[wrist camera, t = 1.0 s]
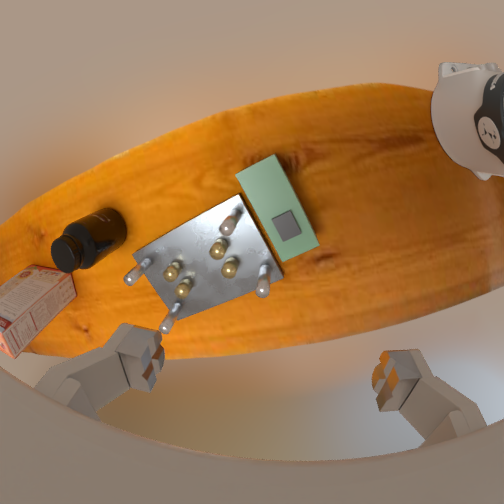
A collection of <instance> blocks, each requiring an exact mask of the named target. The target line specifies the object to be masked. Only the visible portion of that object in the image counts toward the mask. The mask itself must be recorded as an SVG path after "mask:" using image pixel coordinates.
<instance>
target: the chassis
mask: <svg viewBox="0 0 504 504" xmlns="http://www.w3.org/2000/svg"><path fill="white" fill-rule="evenodd" d="M132 255H133V257H134V258H135V260H136V262H137V263H138V264H137V265H136V266H135V267H134V268H133V269H132V270H131V271H130V272H129V273H128V274H126V275H125V276H124V282H125V283H126V284H127V285H129V286H132V285H133V284H134V283H135V282H136V281H137V280H138V279H139V278H140V277H141V276H142V275H143V274H145V275H146V277H147V278H148V280H149V281H150V283H151V284H152V286H153V287H154V289H155V290H156V292H157V293H158V295H159V296H160V297H161V299H162V300H163V302H164V303H165V304H166V306H167V307H168V309H169V312H168V314H167V315H166V317H165V318H164V320H163V322H162V323H161V325H160V326H159V330H160V332H162V333H163V334H168V333H169V332H170V330H171V328H172V326H173V324H174V323H175V321H176V320H180V319H183V318H185V317H188V316H191V315H193V314H196V313H199V312H201V311H204V310H206V309H209V308H211V307H214V306H217V305H219V304H222V303H224V302H227V301H229V300H232V299H234V298H237V297H239V296H242V295H244V294H247V293H249V292H251V291H254V290H256V295H257V296H258V297H260V298H265V297H267V296H268V295H269V290H270V284H271V283H273V282H276V281H278V280H280V279H283V278H284V274H283V272H282V270H281V268H280V266H279V265H278V263H277V261H276V259H275V257H274V255H273V253H272V251H271V250H270V248H269V246H268V244H267V242H266V240H265V238H264V237H263V235H262V233H261V231H260V229H259V227H258V225H257V224H256V222H255V220H254V218H253V216H252V214H251V213H250V211H249V209H248V207H247V205H246V203H245V202H244V200H243V198H242V196H241V194H240V193H239V194H237V195H235V196H233V197H231V198H229V199H227V200H226V201H224V202H222V203H220V204H218V205H216V206H214V207H213V208H211V209H209V210H207V211H205V212H203V213H202V214H200V215H198V216H196V217H194V218H193V219H191V220H189V221H187V222H185V223H184V224H182V225H180V226H178V227H177V228H175V229H173V230H171V231H170V232H168V233H166V234H164V235H163V236H161V237H159V238H158V239H156V240H154V241H153V242H151V243H149V244H148V245H146V246H144V247H143V248H141V249H139V250H138V251H136V252H135V253H133V254H132Z"/></svg>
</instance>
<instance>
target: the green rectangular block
mask: <svg viewBox="0 0 504 504" xmlns="http://www.w3.org/2000/svg"><path fill="white" fill-rule="evenodd" d="M235 175H236V177H237V179H238V181H239V182H240V184H241V186H242V188H243V190H244V192H245V193H246V195H247V197H248V199H249V201H250V202H251V204H252V206H253V208H254V210H255V212H256V213H257V215H258V217H259V219H260V221H261V223H262V225H263V226H264V228H265V230H266V232H267V234H268V236H269V238H270V239H271V241H272V243H273V245H274V247H275V249H276V251H277V253H278V254H279V256H280V258H281V260H282V262H283V261H286V260H288V259H290V258H293V257H295V256H297V255H299V254H302V253H304V252H306V251H308V250H310V249H313V248H315V247H317V246H319V242H318V239H317V236H316V234H315V231H314V229H313V227H312V225H311V223H310V221H309V219H308V217H307V215H306V213H305V210H304V208H303V206H302V204H301V202H300V200H299V198H298V196H297V194H296V192H295V190H294V188H293V186H292V184H291V182H290V180H289V178H288V177H287V175H286V173H285V171H284V169H283V167H282V165H281V163H280V161H279V159H278V158H277V156H276V154H273V155H271V156H269V157H267V158H265V159H263V160H261V161H259V162H257V163H255V164H253V165H251V166H249V167H247V168H246V169H244V170H242V171H240V172H238V173H237V174H235Z"/></svg>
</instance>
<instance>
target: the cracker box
mask: <svg viewBox="0 0 504 504" xmlns="http://www.w3.org/2000/svg"><path fill="white" fill-rule="evenodd" d="M76 296H77V294H76V291H75V287H74V283H73V279H72V275H71V273H69V274H68V273H67V274H66V273H64V272H62V271H61V270H57V269H51V268H46V267H41V266H36V265H30V266H28V267H27V268H25V269H24V270H23V271H21V272H20V273H18V274H17V275H15V276H14V277H13V278H11V279H10V280H9V281H7V282H6V283H5V284H3V285H2V286H1V287H0V350H1V351H2V352H4V353H6V354H7V355H9V356H10V357H12V358H14V359H16V358H17V357H18V356H19V354H20V353H21V352H22V351H23V350H24V349H25V348H26V347H27V346H28V345H29V344H30V342H31V341H32V340H33V339H34V338H35V337H36V336H37V335H38V334H39V333H40V332H41V331H42V330H43V329H44V328H45V327H46V326H47V325H48V324H49V323H50V322H51V321H52V320H53V319H54V318H55V317H56V316H57V315H58V314H59V313H60V312H61V311H62V310H63V309H64V308H65V307H66V306H67V305H68V304H69V303H70V302H71V301H72V300H73V299H74V298H75V297H76Z"/></svg>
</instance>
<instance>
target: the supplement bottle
mask: <svg viewBox="0 0 504 504" xmlns="http://www.w3.org/2000/svg"><path fill="white" fill-rule="evenodd" d="M125 236H126V227H125V224H124V221H123V219H122V218H121V216H120V215H119V214H118V213H117V212H116V211H114V210H112V209H109V208H104V209H101V210H98V211H96V212H94V213H92V214H89V215H87V216H85V217H83V218H81V219H79V220H77V221H74V222H72V223H71V224H69V225H68V226H67V227H66V228H65V229H64V231H63V234H62V236H60V237H59V238H57V239H56V240H55V241H53V243H52V246H51V256H52V259H53V261H54V263H55V265H56V266H57V268H59V270H61V271H62V272H64V273H66V274H67V273H68V274H69V273H72V272H73V271H74V270H77V269H78V268H79V269H89V268H91V267H92V266H94V265H95V264H96V263H98V262H99V261H101V260H102V259H103V258H105V257H106V256H107V255H109V254H110V253H112V252H113V251H114V250H116V249H117V248H119V247H120V246H121V245H122V244H123V242H124V240H125Z"/></svg>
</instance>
